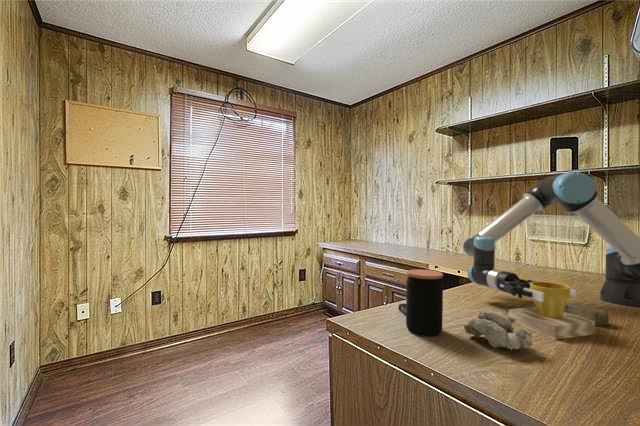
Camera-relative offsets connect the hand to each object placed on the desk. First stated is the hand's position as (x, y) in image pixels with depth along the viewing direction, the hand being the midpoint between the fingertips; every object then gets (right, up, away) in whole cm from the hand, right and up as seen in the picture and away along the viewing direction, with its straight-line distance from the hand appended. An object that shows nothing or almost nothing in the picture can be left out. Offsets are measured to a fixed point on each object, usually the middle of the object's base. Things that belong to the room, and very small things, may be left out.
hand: (560, 296), depth 100 cm
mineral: (-25, -11, -10) cm, 30 cm away
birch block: (-1, -11, +3) cm, 11 cm away
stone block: (+16, -11, +10) cm, 23 cm away
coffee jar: (-43, -11, 0) cm, 44 cm away
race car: (-43, -11, +16) cm, 47 cm away
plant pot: (-1, -7, +3) cm, 8 cm away
